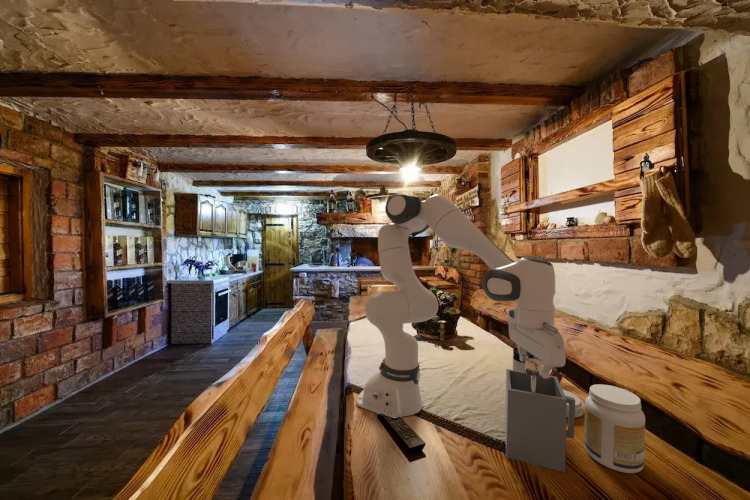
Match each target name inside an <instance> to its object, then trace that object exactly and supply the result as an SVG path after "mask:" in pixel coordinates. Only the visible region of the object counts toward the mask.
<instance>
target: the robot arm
mask: <svg viewBox="0 0 750 500" xmlns="http://www.w3.org/2000/svg"><path fill="white" fill-rule="evenodd" d="M384 208H385V214H386V216H387V217H388V219H389V220H390V221H391V222H389V223H385V224H383V225H382V226H381V227H380V228H379V230H378V236H377V238H378V239H377V249H378V258H379V266H380V273H381V275H382V278H383V279H385V280H386V281H388V282H391V283H392V284H393V285H395V287H396V288H397V290H395V291H382V292H381V291H380V292H377V293H374V294H370V295H369V296H368V297H367V299H366V301H365V304H364V314H365V316H366V319H367V320H368V322H369V323H370V324H371V325H373V326H375V327H376V328H377V329H378V330H379V332H380V334H381V336H382V338H383V341H384V349H385V353H384V358H383V359H382V362H381V363H380V365H379V366H378V372H377V373H375V374H373V375H372V376H370V377H369V378H368V380H367V381H366V383H365V385H364V388H363V390H362V391H360V392H359V394H358V395H357V398H356V405H357V407H359V408H363V409H365V410H368V411H371V412H373V413H376V414H377V415H380V414H381V413H383V414H386V415H388V416H391V417H400V418H402V417H408V416H412V415H416V414H418V413H419V412H420V411H421V410H422V409H423V405H424V404H423V400H422V397H421V392H420V391H421V390H420V382H419V381H420V379H421V377H420V375H421V373H420V372H421V371H420V363H419V343H418V340H417V339H416V337H415V336H413V335H412V334H410V333H408V332H406V331H404V325H405V324H414V323H415V324H416V323H422V322H426V321H429V320H431V319H434V318H435V317H436V316H437V313H438V311H439V300H438V299H437V297H436V295H435V294H434V293H433V292H432V291H431V290H429V289H427V288H426V286H424V285H423V284H422V283H421V282H420V280H419V279H418V276H417V275H416V273H415V270H414V268H413V262H412V259H411V258H412V257H411V253H410V247H409V246H410V245H409V238H411V239H412V238H415V237H417V236H418V235H420V234H423V233H425V232H426V231H427V230H429V228H430V229H431V230H432V232H433V233H434V235H436V237H438V238H439V240H440V241H442V242H443V243H445V245H447V246H448V247H450V248H454V249H458V250H463V251H467V252H470V253H472V254H475V255H476V256H478V258H480V259H481V260H482V261H483V262H484V263H485V264H486V265H487V266H488V267H489V268H490V269H489V270H488V271H487V272H486V273H485V274H484V275H483V278H482V281H481V282H482V289H483V292H484V293H485V295H486V296H487V297H488V298H489V299H491V300H493V301H496V302H512V301H513V302H515V303H516V308H511V309H508V311H507V316H508V317H509V319H508V336H509V338H510V340H511V341H512V342H514V344H516V347H517V348H518V351H519V354H520V361H522V362H523V363H525V362H526V359H528V356H527V353H526V351H528V352H529V353H531V354H532V355H534V358H536V359H537V360H540V361H542V369H539V372H540V373H539V375H540V376H541V377H542V378H544V379H548V378H549V376H551V375H550V374H551V370H552V369H553V368H563V367H564V366H565V365H566V345H565V341H564V340H565V339H564V338H563V336H562V334H561V332H560V331H559V329H558V328H557V327H555V309H556V308H555V303H554V296H555V294H556V273H555V268H554V264H552V262H550V260H547V259H544V258H541V257H536V256H522V257H521V258H520V259H518V260H516V261H514V260H513V259H512V258H511V257H509V256H508V255H507V254H506V253H505V252H504V251H503V250H502V249H501V248H500V247H499V246H497V245H496V244H495V242H493V241H492V240H491V239H489V238H488V237H487V236H486V235H485V234H484V233H483V232H482V231H481V230H480V229H479V228H478V227H477V225H475V224H474V223H473V222H472V220H470V218H468V217H467V215H466V214H465V213H464V212H463V211H462V210H461V209H460V208H459V207H458V206H457V205H456V204H455V203H453V202H452V201H451V200H450V199H448V198H447V197H445V196H444V195H442V194H433V195H431V196H428V198H427V199H425V200H421V199H420V197H419V196H417V195H412V194H410V193H409V194H408V193H403V192H397V193H394V194H392V195H391V196H390V197H389V198H388V199H387V201H386V203H385V207H384ZM384 410H387V411H386V412H385V411H384ZM389 412H391V413H392V414H388V413H389Z"/></svg>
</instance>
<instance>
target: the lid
mask: <svg viewBox="0 0 750 500" xmlns="http://www.w3.org/2000/svg"><path fill="white" fill-rule="evenodd" d="M562 390H563V392H564V395H565V396H567V397H573V398H575V418H578V417H582V416H583V415H584V413H585V410H584V408H585V402H584V401H583V400H582V399H581V398H579V396H578V395H576V394H575V393H573V392H570V391H567V390H565V389H562ZM568 404H569V403H567V413H566V418H568Z"/></svg>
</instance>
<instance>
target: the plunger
mask: <svg viewBox="0 0 750 500" xmlns="http://www.w3.org/2000/svg"><path fill="white" fill-rule="evenodd" d="M542 367H543V365H542V361H541V360H539V359H538V358H534V359H533V358H528V359H526V364H525V371H526V373H528V374H531V392H533V393H536V376H540V375H539V373H540V372H539V369H542Z"/></svg>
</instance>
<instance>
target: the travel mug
mask: <svg viewBox="0 0 750 500" xmlns="http://www.w3.org/2000/svg"><path fill="white" fill-rule="evenodd" d="M526 353H527V356H528V358H533V359H535V356H534V355H532V354H531V353H529V352H528V351H526ZM525 364H526V362H525V363H523V362H522V361H520V354H519V351H518V348H517V346H516V347H514V348H512V370H516V371H523V372H526V371H525Z"/></svg>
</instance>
